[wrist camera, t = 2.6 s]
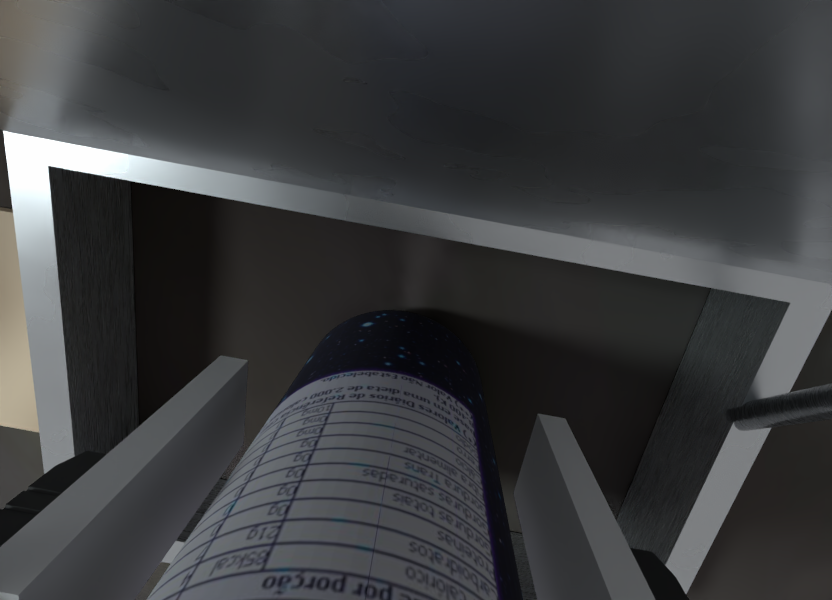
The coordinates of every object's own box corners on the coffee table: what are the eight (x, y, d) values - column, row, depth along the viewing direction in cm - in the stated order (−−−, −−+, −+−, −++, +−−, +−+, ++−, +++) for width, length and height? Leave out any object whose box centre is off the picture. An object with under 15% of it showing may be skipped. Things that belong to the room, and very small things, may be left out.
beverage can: (281, 384, 15) (-260, 1133, 3) (385, 265, 13) (50, 883, 2) (404, 476, 16) (310, 1315, 4) (514, 375, 14) (826, 1249, 3)
